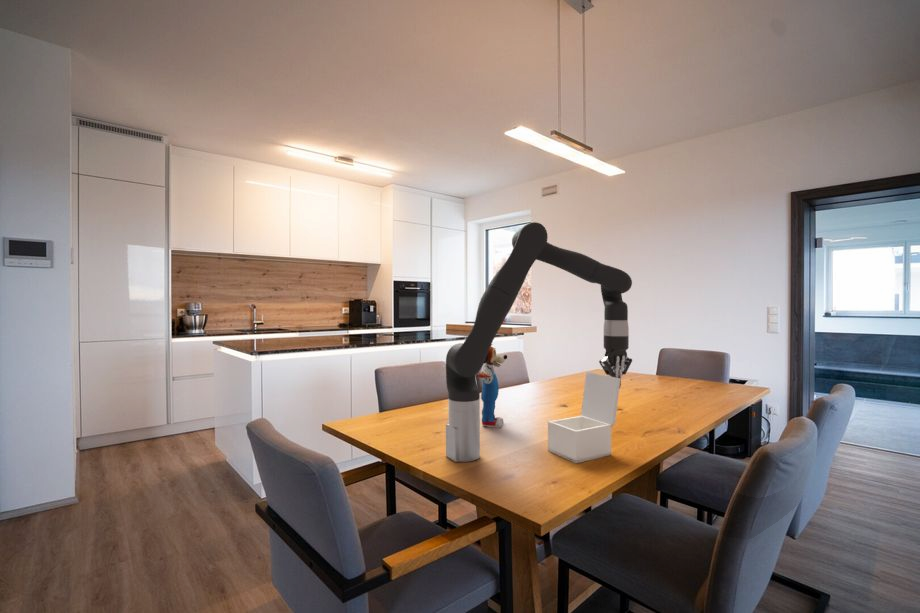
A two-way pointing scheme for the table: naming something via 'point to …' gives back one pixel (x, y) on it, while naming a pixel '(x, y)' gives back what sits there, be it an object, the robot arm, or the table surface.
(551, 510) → the table surface
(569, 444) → the box
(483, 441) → the table surface
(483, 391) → the toy
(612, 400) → the lid
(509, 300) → the robot arm
